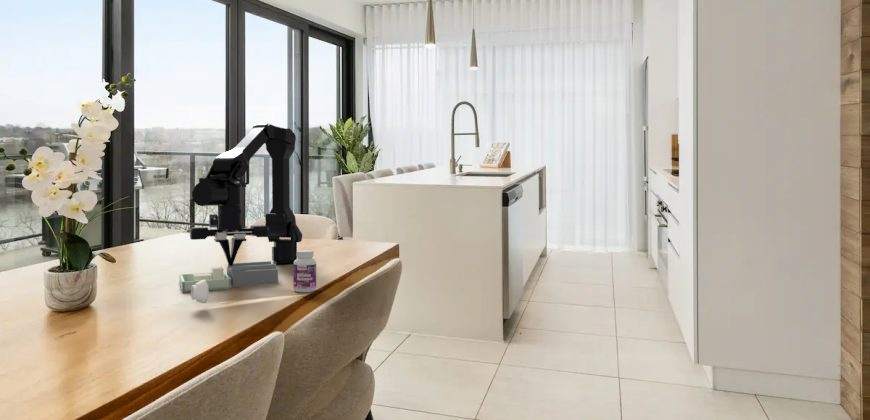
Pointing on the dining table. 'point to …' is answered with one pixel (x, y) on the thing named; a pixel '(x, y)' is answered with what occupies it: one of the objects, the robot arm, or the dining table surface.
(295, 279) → the pill bottle
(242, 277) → the bench board
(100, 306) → the dining table surface
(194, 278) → the tile
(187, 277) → the tray
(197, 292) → the white flared knob
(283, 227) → the robot arm
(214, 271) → the tile
